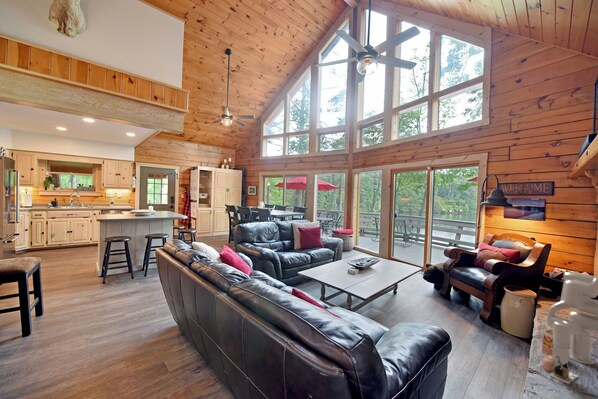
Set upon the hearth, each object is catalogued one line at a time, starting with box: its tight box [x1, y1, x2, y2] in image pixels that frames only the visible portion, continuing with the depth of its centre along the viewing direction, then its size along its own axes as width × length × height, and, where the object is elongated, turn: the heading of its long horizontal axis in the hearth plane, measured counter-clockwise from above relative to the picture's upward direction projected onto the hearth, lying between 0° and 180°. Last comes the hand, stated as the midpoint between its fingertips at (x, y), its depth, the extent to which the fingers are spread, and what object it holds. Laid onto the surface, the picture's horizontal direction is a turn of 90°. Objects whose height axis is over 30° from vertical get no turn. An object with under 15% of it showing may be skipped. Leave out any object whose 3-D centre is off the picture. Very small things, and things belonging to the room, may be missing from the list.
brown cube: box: [554, 366, 570, 380], centre depth 152 cm, size 5×5×5 cm
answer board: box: [549, 371, 579, 385], centre depth 153 cm, size 14×8×1 cm, turn 116°
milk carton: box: [541, 327, 554, 357], centre depth 175 cm, size 9×9×20 cm
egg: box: [542, 357, 554, 373], centre depth 159 cm, size 5×5×6 cm
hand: (561, 372), depth 152 cm, fingers open, 6 cm apart
